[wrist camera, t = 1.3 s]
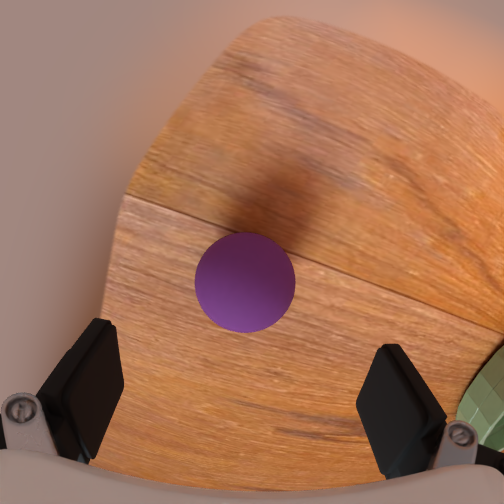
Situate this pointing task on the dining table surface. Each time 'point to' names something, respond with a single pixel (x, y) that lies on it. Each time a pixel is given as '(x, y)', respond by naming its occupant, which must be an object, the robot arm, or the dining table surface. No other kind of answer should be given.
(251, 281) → the ball
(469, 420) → the green bowl
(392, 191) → the dining table surface
